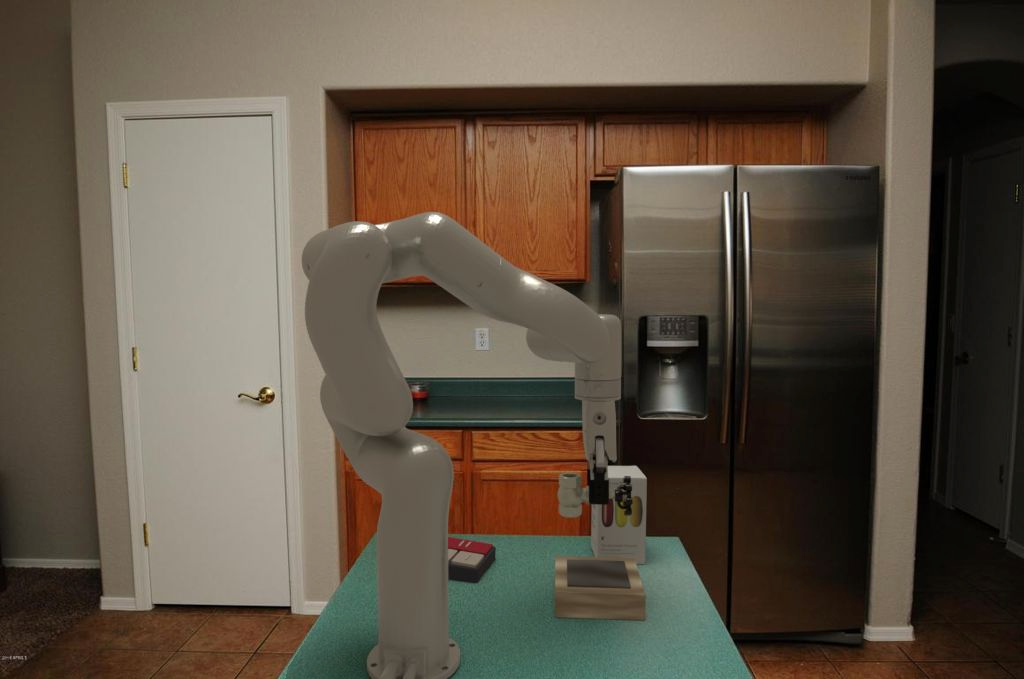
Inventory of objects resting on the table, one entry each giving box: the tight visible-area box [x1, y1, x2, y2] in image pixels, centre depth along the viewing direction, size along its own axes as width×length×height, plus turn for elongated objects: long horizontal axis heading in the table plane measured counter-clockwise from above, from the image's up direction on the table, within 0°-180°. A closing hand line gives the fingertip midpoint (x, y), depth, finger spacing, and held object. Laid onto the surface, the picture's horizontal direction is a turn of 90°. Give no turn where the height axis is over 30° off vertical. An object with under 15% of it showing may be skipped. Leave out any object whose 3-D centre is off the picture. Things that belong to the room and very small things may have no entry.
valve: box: [557, 472, 633, 519], centre depth 102 cm, size 7×7×12 cm
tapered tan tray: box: [554, 555, 646, 621], centre depth 102 cm, size 14×14×4 cm
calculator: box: [448, 536, 497, 584], centre depth 115 cm, size 11×4×15 cm
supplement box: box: [590, 465, 648, 565], centre depth 120 cm, size 10×9×17 cm
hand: (597, 496), depth 102 cm, fingers closed on valve, 5 cm apart
